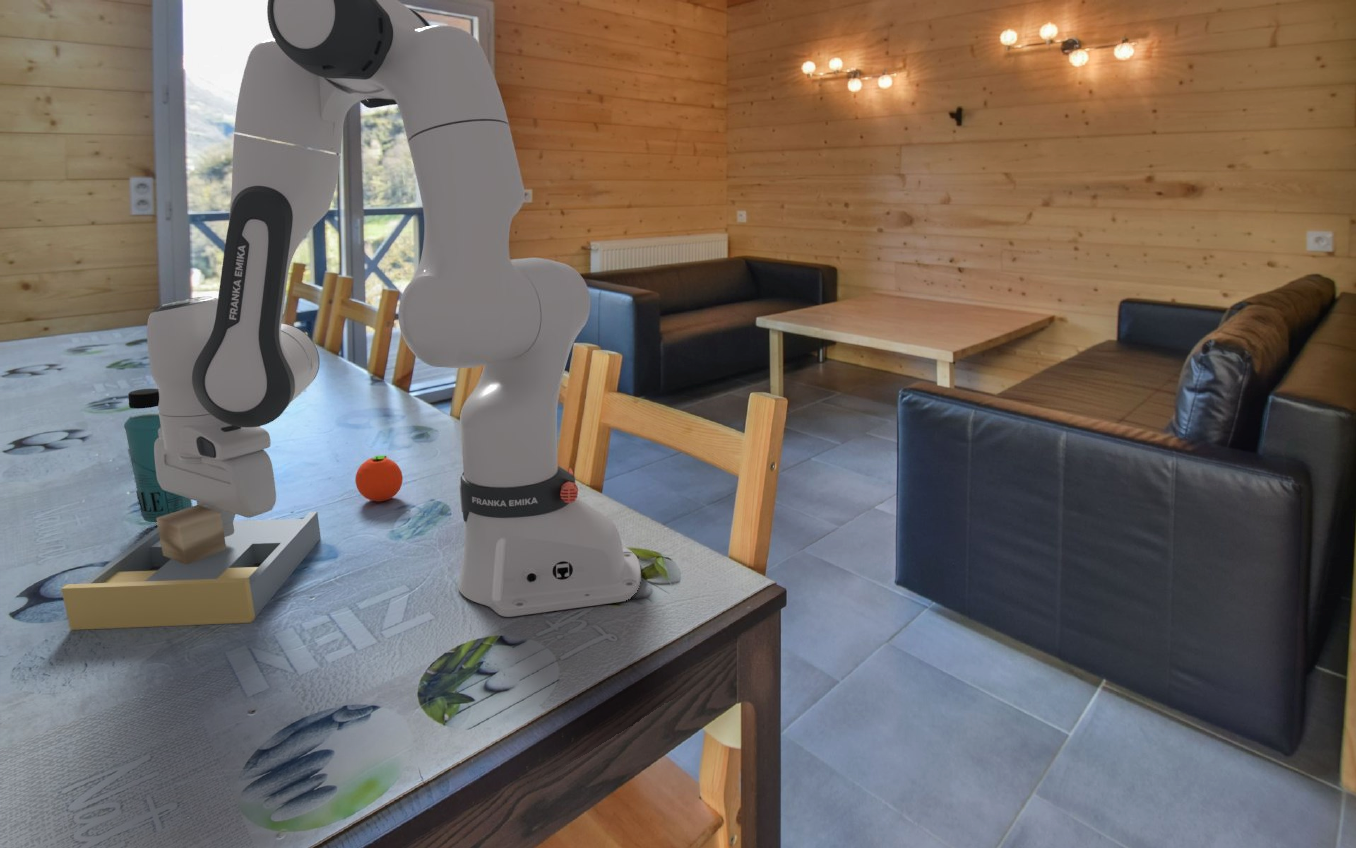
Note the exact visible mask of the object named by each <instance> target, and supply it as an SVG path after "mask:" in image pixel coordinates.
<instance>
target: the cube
mask: <svg viewBox="0 0 1356 848" xmlns="http://www.w3.org/2000/svg"><path fill="white" fill-rule="evenodd" d="M156 520H157V522H156V524H157V527H158V530H159V536H160V541H161V546H162V552H163V556H166V557H168V558H171V559H173V560H176V561H178V562H181V563H183V564H186V565H187V564H189V563H192V562H195V561H197V560H200V559H203V558H205V557H208V556H211V555H213V554H216V553H219V552H221V551H224V550H226V543H225V537H224V531H223V525H222V519H221V513H220V512H217V511H214V510H211V509H208V508H205V507H202V506H199V505H197V504H196V505H192V507H189V508H186V509H183V510H180V511H177V512H174V513H170V514H167V515H164V516H161V517H158V518H156Z"/></svg>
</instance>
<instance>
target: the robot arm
mask: <svg viewBox="0 0 1356 848" xmlns="http://www.w3.org/2000/svg"><path fill="white" fill-rule="evenodd" d="M266 13H267V21H268V22H267V23H268V26H269V30H270V33H271V35H272V37H273V38H270V39H267V40H263V41H262V42H259V43H258V44H256V45H255V46H254V47H253V48H252V49H251V51H250V53H249V55H248V57H247V61H246V64H245V67H244V71H243V75H242V79H241V83H240V88H239V93H238V98H237V103H236V104H237V105H236V111H235V122H234V130H233V131H234V134H233V145H232V168H231V171H232V172H231V195H230V205H229V217H228V219H229V220H228V226H227V233H226V237H225V245H224V252H223V259H222V267H221V274H220V275H221V276H220V282H219V289H218V290H219V291H218V297H213V296H198V297H191V298H187V299H182V300H178V301H173V302H170V303H166V304H162V305H160V306H158V307H156V308H155V309H153V311H151V313H150V314H149V316H148V319H147V324H146V326H147V327H146V336H147V337H146V338H147V339H146V340H147V342H146V343H147V350H148V353H147V354H148V360H149V366H150V373H151V377H152V380H153V382H154V383H155V385H156V387H157V388H156V389H158V391H159V404H158V406H157V410H158V412H159V419H160V424H161V427H160V428H159V429H158V435H159V438H157V439H156V441H155V444H154V456H155V467H156V475H157V481H158V483H159V485H160V487H161V488H162V489H163V490H165V491H168V492H171V493H174V494H177V495H180V496H183V497H186V498H189V499H192V500H191V501H195V502H196V505H199V506H202V507H205V508H208V509H211V510H214V511H217V512H220V513H221V519H222V525H223V531H224V537H227V536H230V535H232V534H233V533H234V525H233V521H235V520H234V519H235V517H236V515H237V516H242V517H244V518H253V517H256V516H259V515H262V514H265V513H268V512H270V511H272V510H273V508H274V507H275V505H276V501H277V492H276V482H275V474H274V469H273V468H274V467H273V463H272V459H271V457H270V455H269V454H268V453H267V451H266V450H265V449H268V448H270V447H271V444H272V443H271V436H270V434H269V432H268V431H267V430H266V429H265V428H263V427H262V426H266V425H268V424H269V423H270V424H271V422H274V421H275V420H276V419H278V418H279V417H281V415H282V414H283V413H284V412H285V411H286V409H287V408H288V407H289V405H290V404H291V402H293V401H294V400H295V399H297V397H299V396H300V395H301V394H302V393H303V392H304V391H305V390H306V389H308V387H309V386H310V385H311V384H312V383H313V382H314V380H315V379H316V377H317V375H318V373H319V369H320V355H319V351H318V349H317V346H316V345H315V343H314V341H313V339H312V338H311V337H310V336H309V335H308V334H307V333H306V332H304V331H303V330H302V329H300V328H298V327H296V326H294V325H291V324H288V323H282V322H283V318H284V317H283V316H284V309H285V300H286V292H287V285H288V278H289V273H290V268H291V267H290V266H291V263H292V261H293V258H294V255H295V253H296V251H297V249H298V247H299V246H300V244H301V242H302V241H303V240H304V239H305V237H306V236H307V234H308V233H309V232H310V231H311V230H312V229H313V228H314V227H315V225H317V223H318V222H320V221H321V220H322V219H323V217H325V215H326V214H327V213H328V211H329V210H330V208H331V205H332V202H333V198H334V195H335V192H336V187H337V184H338V180H339V179H338V178H339V173H340V165H341V154H342V142H343V141H342V140H343V130H344V124H345V123H344V122H345V119H346V116H347V114H348V112H349V111H350V109H351V108H352V107H353V106H354V105H355V104H357V103H361V104H362V106H364V107H366V108H368V109H375V108H381V107H387V106H393V105H394V106H395V105H397V107H398V109H399V111H400V115H401V118H402V123H403V127H404V132H405V135H406V136H405V137H406V140H407V143H408V147H409V151H410V156H411V160H412V164H413V167H414V173H415V176H416V177H415V178H416V180H417V185H418V191H419V194H420V199H421V206H422V210H423V211H422V212H423V220H424V221H423V224H424V225H423V226H424V234H423V246H422V252H421V256H420V261H419V264H418V267H417V270H416V271H415V273H414V275H413V278H411V280H410V282H409V283H408V284H407V285H406V287H405V288H404V290H403V292H402V293H401V297H400V301H399V305H398V312H397V315H398V316H397V317H398V323H399V330H400V333H401V335H402V338H403V340H404V343H405V344H406V345H407V347H408V349H409V350H410V351H411V352H412V354H413V355H414V356H415V357H416V358H417V359H418V360H420V361H421V362H423V363H424V364H426V365H429V366H430V367H434V368H445V369H446V368H447V369H448V368H449V369H472V368H478V367H482V366H483V367H482V368H483V369H482V371H481V375H480V377H479V380H478V381H477V384H476V386H475V388H474V389H473V391H472V392H471V394H470V395H469V396H468V397H467V399H466V400H465V402H464V404H463V405H462V408H461V411H460V414H459V424H460V425H459V426H460V428H459V429H460V440H461V441H460V442H461V455H462V469H463V472H462V475H461V476H460V477H459V478H460V483H459V496H460V497H459V498H460V507H461V513H462V518H463V522H464V523H465V525H464V527H465V529H464V544H463V545H464V546H463V554H462V561H461V568H460V572H459V576H458V580H457V589H458V590H459V592H460V594H461V595H462V596H464V597H465V598H466V599H468V600H470V601H472V602H475V603H477V604H480V605H484V606H486V607H489V608H490V609H492V611H494V612H495V613H497V615H499V616H502V617H504V618H505V617H506V618H511V617H518V616H525V615H533V614H541V613H548V612H554V611H562V610H570V609H577V608H585V607H592V606H601V605H606V604H613V603H615V604H616V603H621V602H626V600H627V601H629V600H630V599H631V597H632V596H633V595H634V594H635V593H638V591H639V589H640V587H639V585H640V586H641V584H640V582H641V583H642V572H641V571H642V570H641V569H642V568H641V564H640V560H639V558H638V557H637V555H636V554H635V553H634V552H633V551H632V550H631V549H630V548H628V547H625V546H623V544H622V539H621V536H620V533H619V531H618V529H617V526H616V524H615V523H614V521H613V520H612V518H610V517H609V516H608V515H606V514H604V513H602V512H601V511H600V510H597V509H596V508H595V507H593V506H591V505H590V504H589V503H586V501H583V500H582V499H581V498H578V495H579V493H578V492H579V488H578V485H577V484H576V477H575V475H574V472H573V469H572V468H571V467H569V469H568V471H567V469H566V470H565V469H564V468H562V467H560V466H559V464H558V427H557V426H558V419H557V417H558V405H559V404H558V403H559V396H560V391H561V390H560V389H561V386H562V382H563V377H564V374H565V369H566V368H567V367H566V366H567V362H568V359H569V355H570V353H571V350H572V348H573V345H574V343H575V341H576V339H577V337H578V335H579V334H580V333H581V331H582V330H583V328H584V327H585V326H586V324H587V322H588V320H589V317H590V312H591V295H590V291H589V288H588V285H587V283H586V281H585V279H584V278H583V276H581V274H580V273H579V272H578V270H576V269H575V268H574V267H572V266H570V265H569V264H567V263H564V262H560V261H556V260H552V259H547V258H541V257H526V258H525V257H523V258H515V259H514V258H513V259H511V256H510V245H509V244H510V242H509V241H510V231H511V225H512V221H513V218H514V216H516V215H517V214H518V212H519V211H520V210H521V208H522V206H523V203H524V202H525V195H526V194H525V187H524V183H523V182H524V181H523V178H522V173H521V170H520V166H519V161H518V157H517V153H516V149H515V144H514V140H513V136H512V135H513V134H512V133H511V127H510V123H509V118H508V115H507V112H506V108H505V105H504V102H503V99H502V98H503V97H502V95H501V92H500V89H499V86H498V83H497V80H496V78H495V74H494V73H493V70H492V67H491V65H490V63H489V61H488V58H487V56H486V54H485V51H484V49H483V47H482V45H481V44H480V43H479V41H478V39H476V38H475V37H474V36H473V34H471V33H469V32H468V31H466V30H464V29H462V28H460V27H456V26H452V25H444V24H443V25H442V24H436V25H431V24H430V23H429V22H428V21H427V20H426V19H425V18H424V17H423V16H422V15H421V14H420V13H418V12H416V11H415V10H413V9H412V8H409V7H408V6H407V5H405V4H403V3H402V2H401V1H399V0H267V12H266ZM236 133H239V134H236ZM247 135H248V136H247ZM256 137H258V138H256ZM262 138H263V139H262ZM272 140H273V141H272ZM276 141H277V142H276ZM280 142H281V143H280ZM295 145H296V146H295ZM305 147H306V148H305ZM311 148H312V149H311ZM319 150H320V151H319ZM324 151H325V152H324ZM638 588H639V589H638ZM637 590H638V591H637ZM635 595H636V594H635ZM635 595H634V596H635ZM634 596H633V597H634ZM633 597H632V598H633ZM628 599H629V600H628Z"/></svg>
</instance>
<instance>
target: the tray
mask: <svg viewBox="0 0 1356 848" xmlns="http://www.w3.org/2000/svg"><path fill="white" fill-rule="evenodd" d="M318 513H319V512H318V511H309V512H308V513H307V514H306V515H305V517H303V518H291V519H290V518H288V519H285V518H283V519H257V520H256V519H255V520H254V519H253V520H251V519H250V520H249V519H248V520H233V525H234V533H233V534H232V535H230V536H227V537H225V543H226V550H224V551H221V552H219V553H216V554H213V555H211V556H208V557H205V558H203V559H200V560H197V561H195V562H192V563H189V564H187V565H186V564H183V563H181V562H178V561H176V560H173V559H171V558H168V557H166V556H163V552H162V546H161V541H160V536H159V530H158V526H157V527H155V528H154V529H152V531H150V532H149V533H147V534H146V535H145V536H143V537H142V538H140V539H139V540H138V541H137V542H135V543H134V544H132V545H131V546H130V547H128V548H127V549H126V550H124V551H123V552H122V553H120V554H119V555H118V556H116V557H115V558H114V559H112V560H110V561H109V562H108V563H107V564H106V565H104V566H102V568H100V569H99V570H97V571H96V572H95V573H93V574H92V575H91V576H89V577H88V578H87V579H85V580H84V581H83V582H81V583H66V585H64V586H63V587H61V595H62V599H63V603H64V607H65V611H66V616H67V620H68V624H69V628H70V629H69V630H70V631H77V630H99V629H101V630H102V629H122V628H123V629H124V628H127V629H128V628H149V627H151V628H153V627H173V626H175V627H176V626H177V627H178V626H196V625H200V626H201V625H221V624H222V625H225V624H244V623H245V624H246V623H247V624H249V623H252V622H253V621H254V620H255V619H256V618H257V616H258V615H260V613H261V612H262V611H263V609H264V608H265V607H266V605H267V604H268V603H269V602H270V601H271V599H273V597H274V595H276V593H277V592H278V591H279V590H280V589H281V588H282V586H283V585H284V583H285V582H286V581H287V580H288V579H289V578H290V576H291V575H292V574H293V573H294V572H295V570H296V569H297V568H298V567H299V565H300V564H301V563H302V562H303V561H304V559H305V558H306V557H307V556H308V555H309V553H310V552H311V551H312V550H313V549H314V547H315V546H316V545H317V544H318V543H319V541H320V540H321V539H322V538H321V530H320V523H319V522H320V521H319V515H318Z"/></svg>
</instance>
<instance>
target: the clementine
mask: <svg viewBox="0 0 1356 848" xmlns="http://www.w3.org/2000/svg"><path fill="white" fill-rule="evenodd" d="M354 478H355V485H356V488H357V490H358V492H359V495H361V496H362V497H364V499H367V500H369V501H372V502H384V501H388V500H391V499H392V498H393V497H394V496H396V495H397V494H398V493H399V492H400V490H401V488H402V484H403V480H404V479H403V472H402V470H401V467H400V466H399V465H398V463H397V462H395V461H394V460H392V459H391V458H390V459H389V458H388V457H387V455H376V456H374V457H371V458H368V459H367V460H366V461H364V462H363V463H361V465H360V466H359V467H358V469H357V471H356V474H355V477H354Z"/></svg>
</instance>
